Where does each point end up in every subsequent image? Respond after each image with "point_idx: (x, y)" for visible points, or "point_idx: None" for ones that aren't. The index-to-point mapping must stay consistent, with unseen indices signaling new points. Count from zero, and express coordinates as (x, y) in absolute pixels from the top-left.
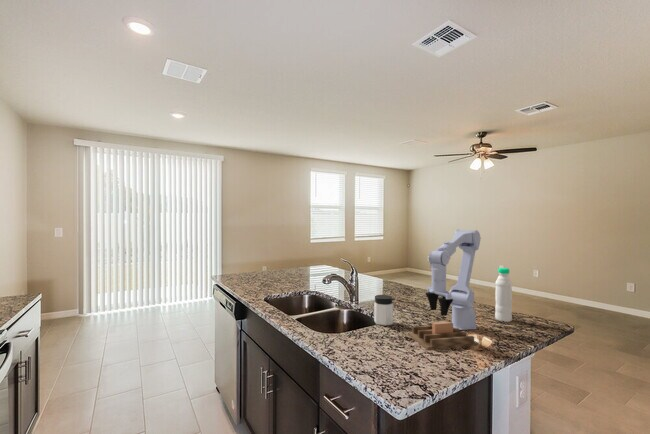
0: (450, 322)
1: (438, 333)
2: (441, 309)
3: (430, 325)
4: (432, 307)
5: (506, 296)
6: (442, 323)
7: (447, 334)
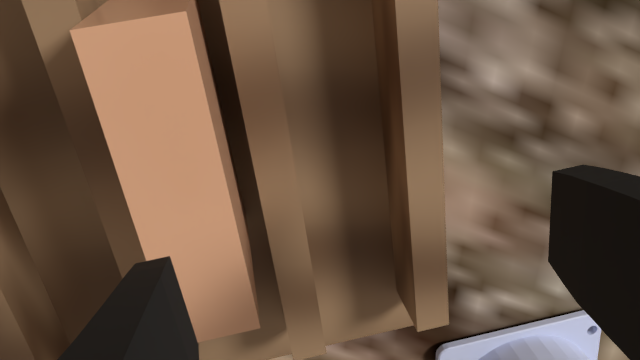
0: (201, 320)
1: None
2: (80, 349)
3: (433, 65)
4: (590, 216)
5: None
6: (138, 187)
7: (86, 172)
